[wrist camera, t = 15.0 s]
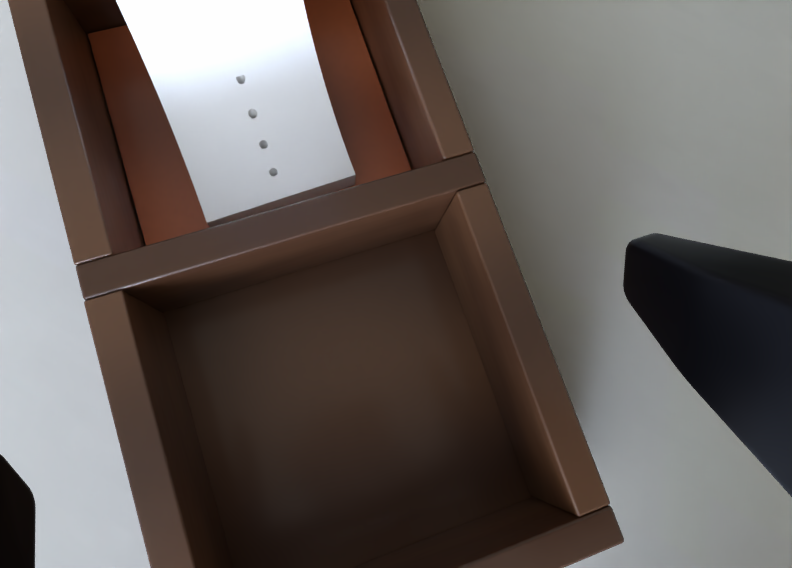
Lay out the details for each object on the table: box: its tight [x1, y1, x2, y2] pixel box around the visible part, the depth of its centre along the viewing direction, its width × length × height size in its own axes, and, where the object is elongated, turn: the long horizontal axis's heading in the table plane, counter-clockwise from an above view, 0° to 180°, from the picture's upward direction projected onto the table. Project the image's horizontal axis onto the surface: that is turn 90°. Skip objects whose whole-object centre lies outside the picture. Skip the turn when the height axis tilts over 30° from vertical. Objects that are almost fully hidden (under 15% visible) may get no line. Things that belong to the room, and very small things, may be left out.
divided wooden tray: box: [8, 0, 624, 568], centre depth 17 cm, size 20×10×4 cm, turn 19°
